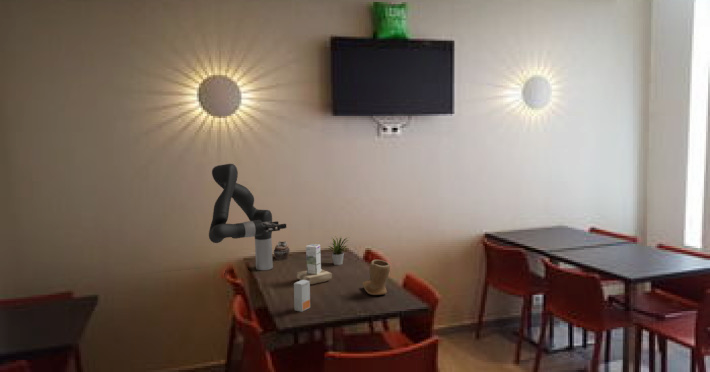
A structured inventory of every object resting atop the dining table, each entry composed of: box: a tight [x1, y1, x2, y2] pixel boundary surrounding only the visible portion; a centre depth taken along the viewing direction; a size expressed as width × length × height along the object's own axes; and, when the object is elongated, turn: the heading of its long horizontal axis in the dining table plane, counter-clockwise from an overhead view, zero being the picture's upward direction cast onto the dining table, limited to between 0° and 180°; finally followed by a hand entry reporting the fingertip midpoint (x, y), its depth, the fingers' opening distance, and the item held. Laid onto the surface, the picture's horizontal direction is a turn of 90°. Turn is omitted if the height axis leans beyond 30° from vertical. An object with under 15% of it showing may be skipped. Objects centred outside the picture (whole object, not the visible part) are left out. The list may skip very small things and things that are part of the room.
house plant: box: [328, 235, 350, 266], centre depth 280 cm, size 14×14×16 cm
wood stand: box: [296, 268, 333, 286], centre depth 250 cm, size 13×13×4 cm
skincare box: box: [293, 279, 311, 313], centre depth 209 cm, size 6×4×12 cm
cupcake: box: [273, 241, 290, 261], centre depth 297 cm, size 10×10×10 cm
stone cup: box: [362, 259, 391, 296], centre depth 230 cm, size 15×12×15 cm
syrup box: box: [305, 243, 322, 275], centre depth 249 cm, size 6×6×14 cm
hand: (282, 224), depth 244 cm, fingers open, 8 cm apart
